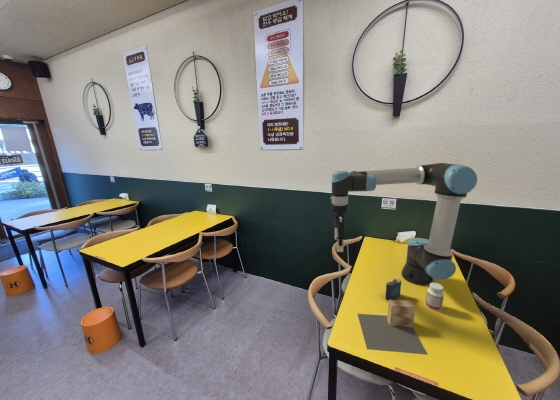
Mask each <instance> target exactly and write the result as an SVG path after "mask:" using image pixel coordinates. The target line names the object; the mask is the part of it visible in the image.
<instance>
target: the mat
mask: <svg viewBox="0 0 560 400" xmlns="http://www.w3.org/2000/svg"><path fill="white" fill-rule="evenodd" d="M357 317H358V321H359V326H360V329H361V333H362V336H363V340H364V343H365V347H366V350H371V351H372V350H374V351H382V352H383V351H384V352H395V353H407V354H417V355H428V352H427V350H426V348H425V347H424V345H423V343H422V342H421V339H420V337H419V335H418V334H417V332H416V330H415V329H414V326H413V327H400V326H390V325H389V323H388V320H387V315H382V314H369V313H357Z"/></svg>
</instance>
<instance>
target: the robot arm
mask: <svg viewBox="0 0 560 400" xmlns="http://www.w3.org/2000/svg"><path fill="white" fill-rule="evenodd" d="M331 175H332V176H331V196H330V198H329V199H330V200H331V205H330V206H331V213H333V214H334V241H335V240H336V251H337V252H338V253H344V240H345V216H344V214H347V213H348V212H349V211H348V210H349V207H348V206H349V205H348V204H349V193H350V192H373V191H375V190H376V188H377V186H381V185H382V186H383V185H398V184H399V185H400V184H401V185H402V184H417V185H425V186H426V185H428V186H433V187H434V194H435V195H436V196H437V199H436V203H435V209H434V213H433V218H432V219H433V220H432V222H431V223H432V224H431V228H430V232H429V239H428V238H423V237H413V238H410V239H409V240H408V242H407V252H406V260H405V263H404V266H403V267H402V269H401V273H400V274H401V277H402V278H403V280H405V281H407V282H409V283H410V284H413V285H414V284H415V285H418V286H429V285H430V283H434V280H437V281H444V280H447V279H449V278H451V277H452V276H454V275H455V273H456V270H457V267H456V266H457V265H456V264H455V262H454V261H452V260H453V257H454V255H453V254H454V253H453V251H452V250H451V245H452V242H453V237H454V233H455V227H456V224H457V219H458V215H459V210H460V207H461V202H462V200H463V199H465V198H467V195H468V193H470V192H472V190H474V188H475V187H476V186H477V183H478V175H477V173H476V171H474V169H473V168H471V167H470V166H468V165H463V164H456V163H448V162H438V163H430V164H423V165H420V164H419V165H416V166H415V167H406V168H393V169H380V170H379V169H378V170H364V171H357V170H352V171H350V172H349V171H347V170H336V171H334V172H333V171H332V174H331Z"/></svg>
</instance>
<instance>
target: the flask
mask: <svg viewBox="0 0 560 400" xmlns="http://www.w3.org/2000/svg"><path fill="white" fill-rule="evenodd" d="M392 279H393V280H391V281H388V282H386V286H385V300H386V301H388V302H389V300H397V299H398V298H399V297H401V287H402V280H401V279H399V278H395V277H394V278H392Z"/></svg>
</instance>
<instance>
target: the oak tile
mask: <svg viewBox="0 0 560 400" xmlns="http://www.w3.org/2000/svg"><path fill="white" fill-rule="evenodd" d="M387 305H388V306H387V307H388V308H387V315H386V316H387V320H388V323H389V325H390V326H400V327H413V328H414V321H415V314H416V313H415V312H416V305H415V303H414V302H413V301H412V300H404V299H394V300H389V301H388V304H387Z"/></svg>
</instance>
